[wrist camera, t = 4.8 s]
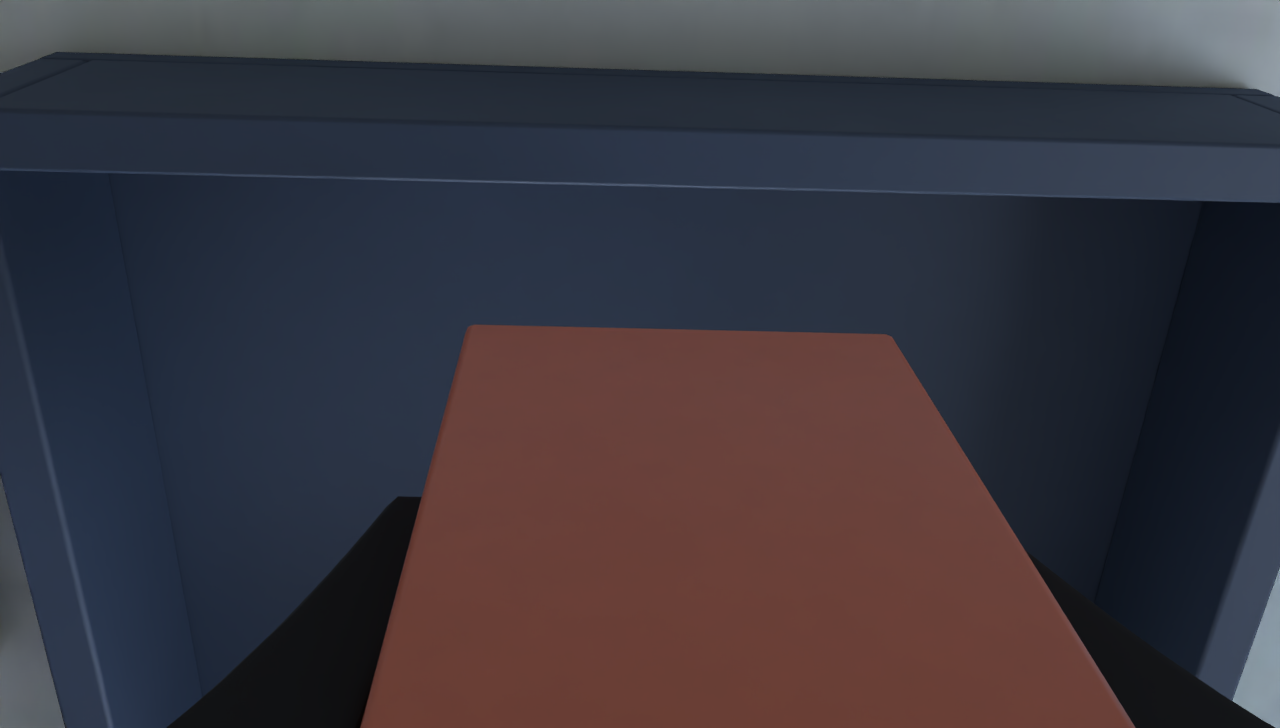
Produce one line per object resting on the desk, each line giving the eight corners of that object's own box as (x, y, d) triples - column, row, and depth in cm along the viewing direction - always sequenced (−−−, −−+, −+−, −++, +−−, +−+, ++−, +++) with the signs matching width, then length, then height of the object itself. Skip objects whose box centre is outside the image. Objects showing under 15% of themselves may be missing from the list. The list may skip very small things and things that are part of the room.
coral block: (476, 659, 13) (392, 1233, 8) (466, 321, 11) (345, 763, 6) (840, 663, 13) (1011, 1218, 8) (893, 331, 11) (1166, 765, 6)
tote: (206, 843, 24) (137, 1020, 21) (54, 50, 17) (-98, 105, 13) (1047, 838, 25) (1124, 1006, 22) (1258, 88, 18) (1432, 148, 14)
